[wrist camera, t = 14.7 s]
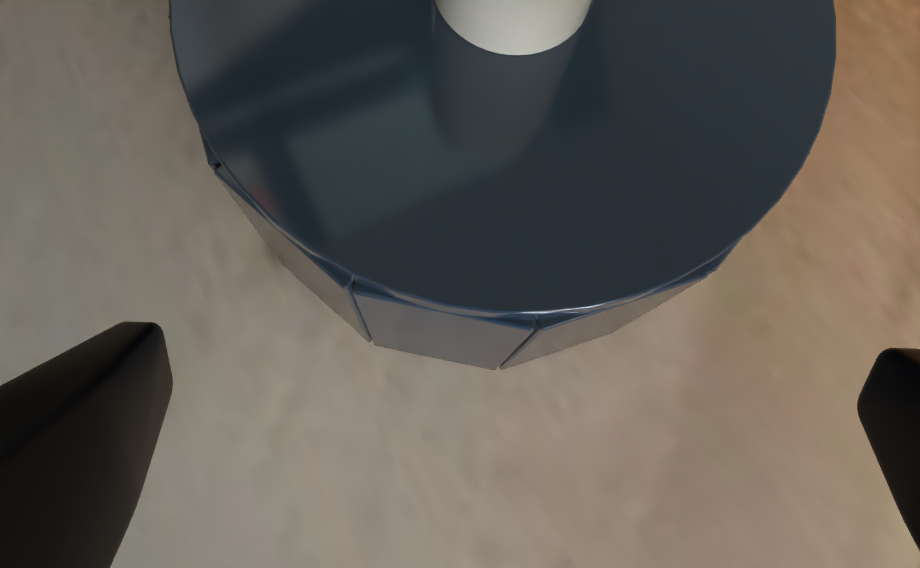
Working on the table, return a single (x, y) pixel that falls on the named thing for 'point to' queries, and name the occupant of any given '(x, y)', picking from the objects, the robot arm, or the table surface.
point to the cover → (503, 152)
